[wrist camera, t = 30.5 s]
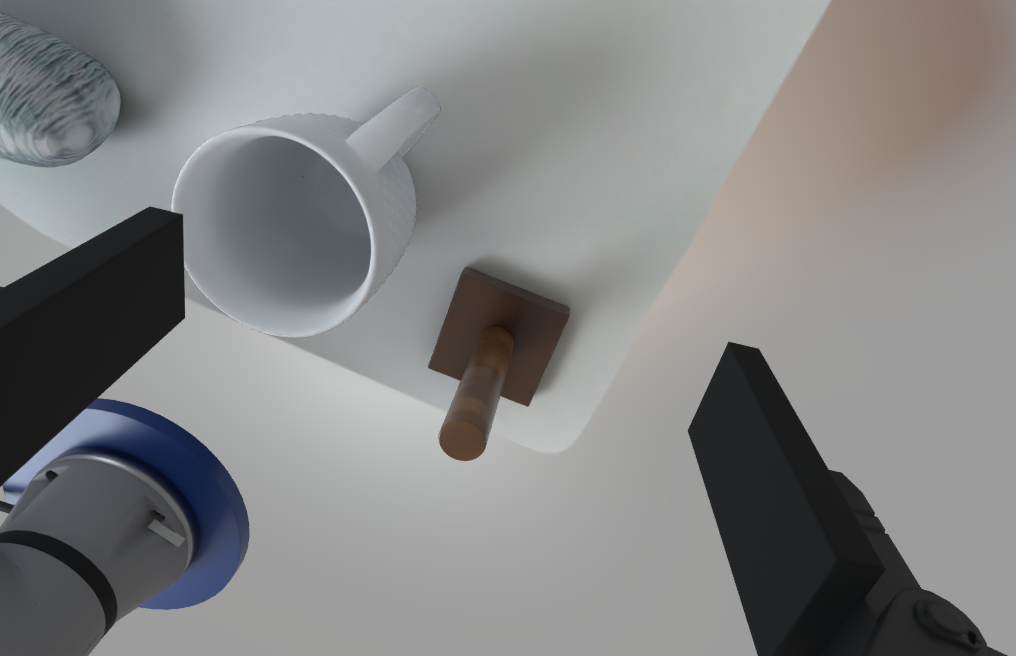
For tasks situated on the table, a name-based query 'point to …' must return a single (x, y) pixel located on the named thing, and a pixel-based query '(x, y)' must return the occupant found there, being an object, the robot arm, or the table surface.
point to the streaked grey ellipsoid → (51, 98)
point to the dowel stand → (491, 354)
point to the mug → (301, 214)
